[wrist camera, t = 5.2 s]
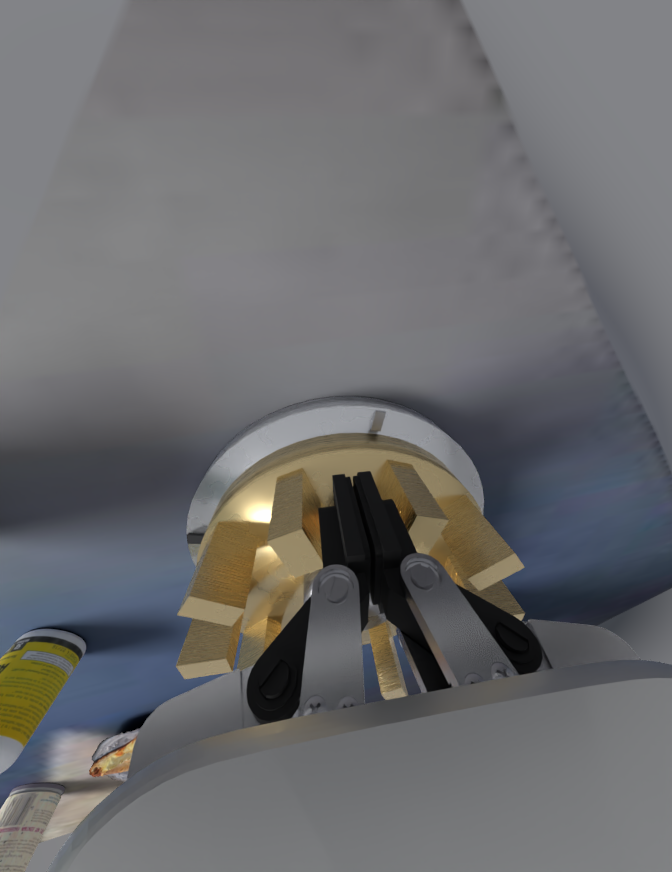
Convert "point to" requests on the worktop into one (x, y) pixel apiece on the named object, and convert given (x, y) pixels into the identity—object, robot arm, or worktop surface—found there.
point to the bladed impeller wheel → (302, 556)
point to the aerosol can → (25, 822)
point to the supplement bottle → (32, 684)
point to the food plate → (114, 756)
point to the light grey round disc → (321, 421)
